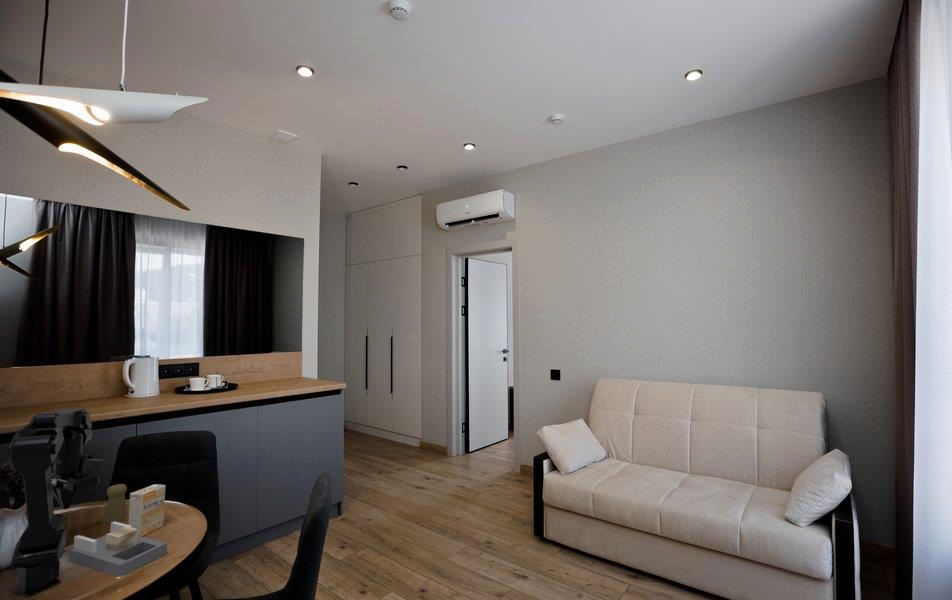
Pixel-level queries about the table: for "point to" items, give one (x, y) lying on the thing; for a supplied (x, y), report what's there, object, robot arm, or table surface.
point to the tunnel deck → (115, 553)
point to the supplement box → (147, 509)
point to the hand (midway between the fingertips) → (65, 508)
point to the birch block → (121, 539)
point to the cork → (116, 504)
